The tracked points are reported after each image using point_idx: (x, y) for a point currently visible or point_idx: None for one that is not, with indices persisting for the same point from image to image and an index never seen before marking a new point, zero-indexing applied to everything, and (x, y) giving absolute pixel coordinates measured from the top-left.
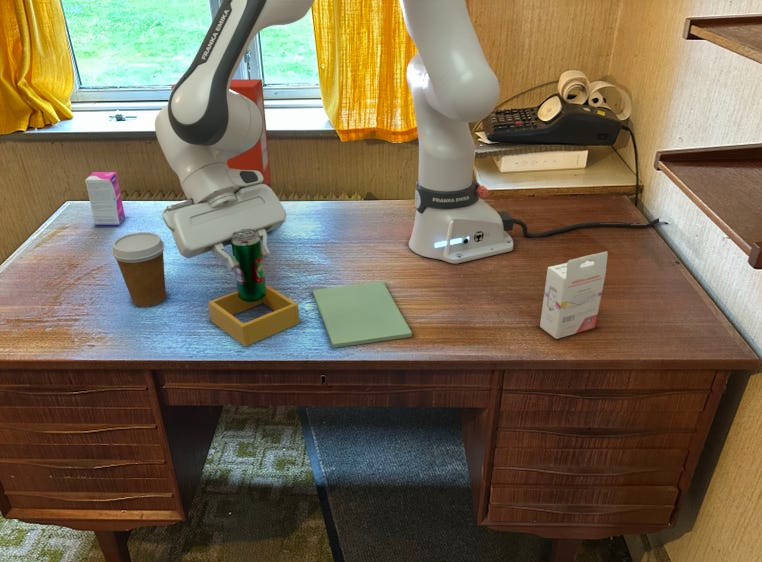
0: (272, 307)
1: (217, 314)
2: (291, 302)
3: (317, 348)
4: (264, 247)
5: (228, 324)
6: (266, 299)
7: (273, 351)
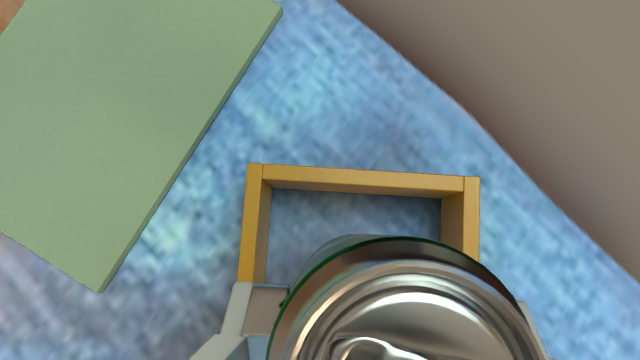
0: None
1: None
2: (255, 188)
3: (312, 40)
4: (245, 319)
5: None
6: None
7: (408, 111)
